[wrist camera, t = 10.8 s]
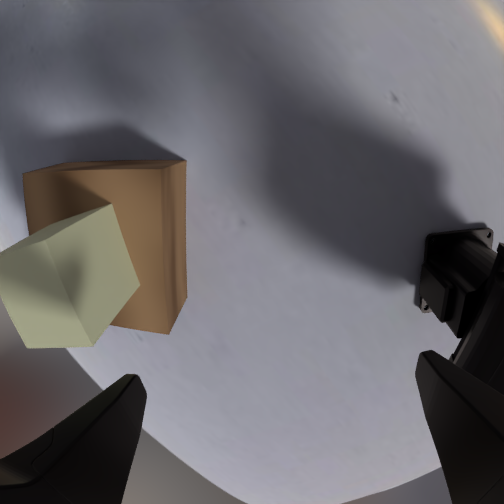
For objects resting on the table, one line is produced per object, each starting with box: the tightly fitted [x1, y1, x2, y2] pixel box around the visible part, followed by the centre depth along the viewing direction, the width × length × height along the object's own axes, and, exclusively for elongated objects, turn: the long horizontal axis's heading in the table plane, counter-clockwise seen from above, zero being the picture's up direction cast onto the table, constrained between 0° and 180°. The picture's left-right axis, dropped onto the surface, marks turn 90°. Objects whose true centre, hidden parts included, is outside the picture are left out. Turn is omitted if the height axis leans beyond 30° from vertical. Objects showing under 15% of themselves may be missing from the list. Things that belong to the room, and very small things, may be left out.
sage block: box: [0, 204, 140, 348], centre depth 14 cm, size 5×5×6 cm
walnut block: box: [23, 160, 187, 335], centre depth 19 cm, size 10×10×5 cm
